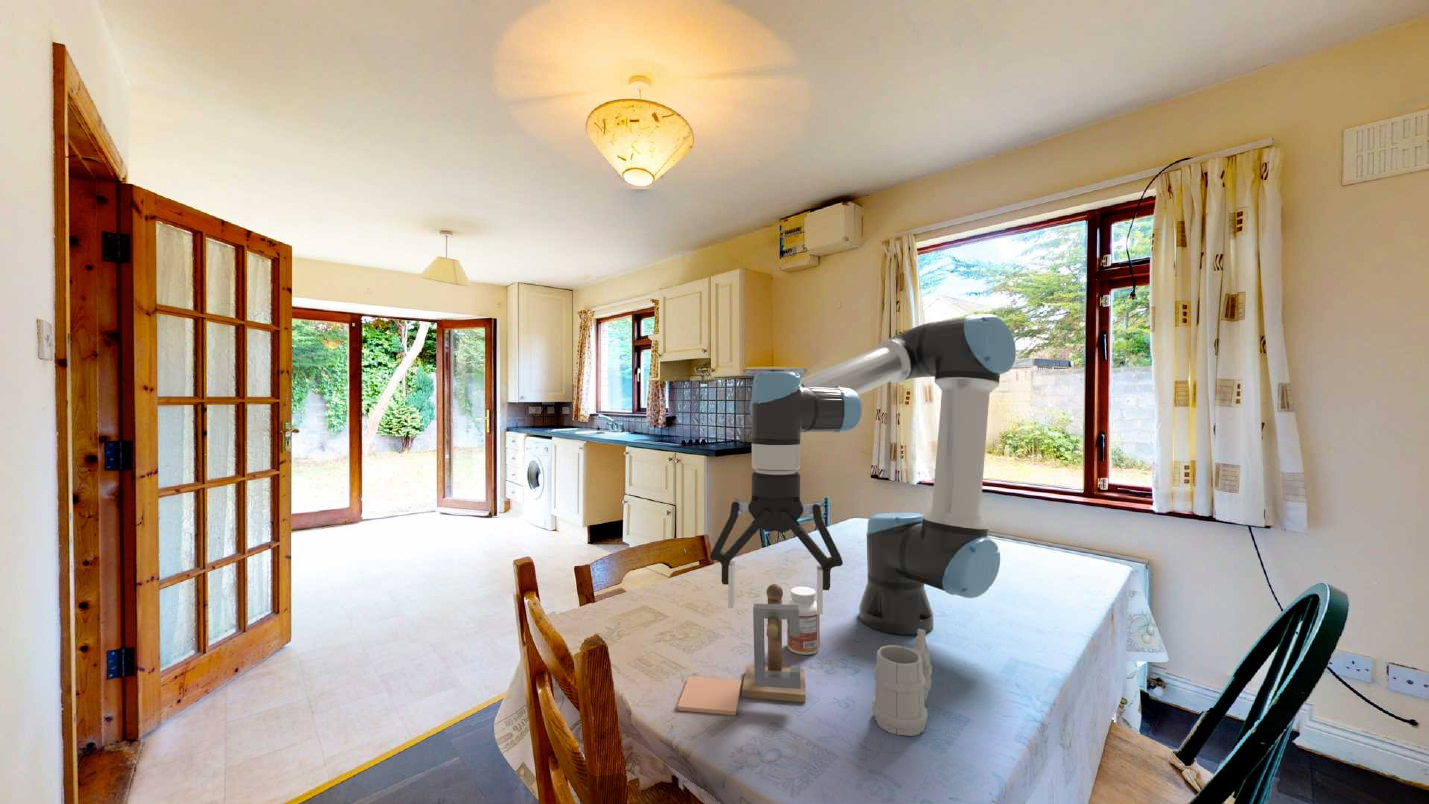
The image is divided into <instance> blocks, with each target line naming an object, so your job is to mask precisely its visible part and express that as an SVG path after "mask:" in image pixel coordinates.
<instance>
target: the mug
mask: <svg viewBox="0 0 1429 804" xmlns="http://www.w3.org/2000/svg"><path fill="white" fill-rule="evenodd" d="M917 633H918V634H917V635H916V637H915V638H914V645H913V647H912V648H909V647H906V646H902V645H895V644H894V645H893V644H891V645H890V644H888V645H884V646H881V647H880V648H879V649H878V650H877V651H876V662H875V663H876V664H875V665H876V666H875V667H874V669H873V676H874V680H875V689H874V691H875V692H874V699H873V700H872V703H871V704H872V711H873V714H874V720H875V721H876V724H877V725H878V726H879V727H880V728H881V729H882V730H884V731H886V732H888V733H890V734H893V735H897V736H907V737H913V736H918V735H920V734H921V733H923V732H924V731H925V727H926V724H927V722H928V717H929V715H928V710H927V708H926V706H925V701H927V698H928V694H929V691H931V688H932V687H931V685H932V678H931V676H932V674H933V666H932V664H931V661H930V659H931V656H930V654H929V648H928V645H927V641H926V633H927V632H926V631H925V630H922V629H918V631H917Z"/></svg>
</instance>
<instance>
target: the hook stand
mask: <svg viewBox="0 0 1429 804" xmlns="http://www.w3.org/2000/svg"><path fill="white" fill-rule="evenodd" d="M766 596H767V604H782V603H783V596H784V591H783V588H782V586H780V585H779V584H776V583H772V584H770V585H769V586H768V587H767V589H766ZM782 605H783V604H782ZM766 625H767V626H766V627H767V628H766V637H767V666H765V671H783V672H790V667H783V619H767V624H766ZM805 671H806V670H805V668H800V679H801V689H794V688H776V687H759V686H755V670H754V665H752V664H751V665H750V664H746V667H745V672H744V678H743V682H742V687H741V698H745V699H761V700H769V701H770V700H773V701H784V702H796V703H797V702H798V703H806V700H807V698H806V695H807V694H806V672H805Z"/></svg>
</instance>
